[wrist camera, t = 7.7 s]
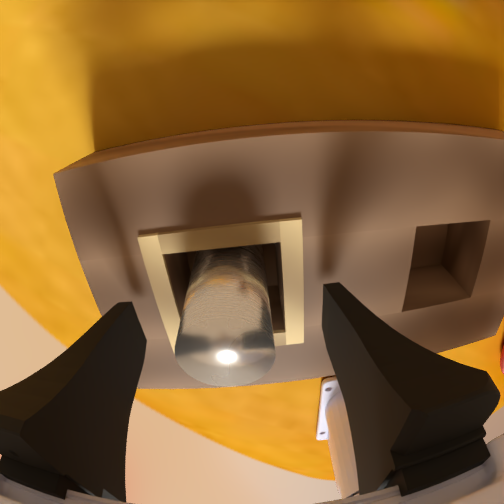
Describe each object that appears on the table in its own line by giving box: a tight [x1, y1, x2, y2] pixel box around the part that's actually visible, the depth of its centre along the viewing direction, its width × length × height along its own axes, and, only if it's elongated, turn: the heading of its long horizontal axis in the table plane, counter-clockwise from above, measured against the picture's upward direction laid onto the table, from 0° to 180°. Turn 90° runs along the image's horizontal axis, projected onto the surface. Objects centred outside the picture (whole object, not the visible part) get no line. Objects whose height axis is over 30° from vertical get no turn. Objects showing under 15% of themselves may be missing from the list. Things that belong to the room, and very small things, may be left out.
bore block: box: [53, 120, 504, 389], centre depth 14 cm, size 12×22×4 cm, turn 96°
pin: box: [175, 244, 276, 387], centre depth 13 cm, size 3×3×7 cm
